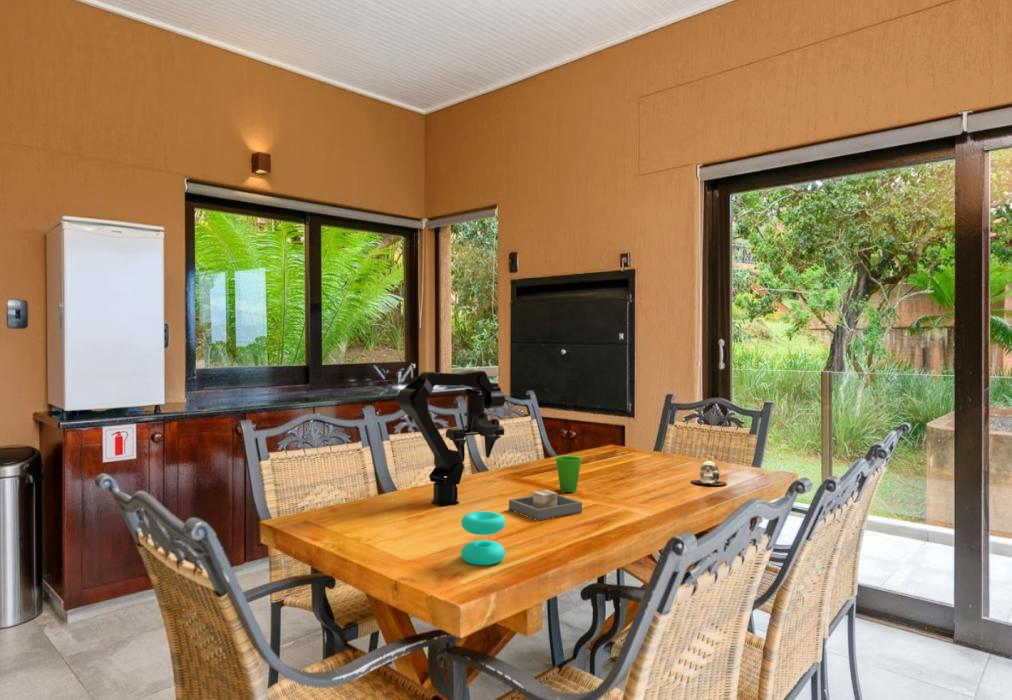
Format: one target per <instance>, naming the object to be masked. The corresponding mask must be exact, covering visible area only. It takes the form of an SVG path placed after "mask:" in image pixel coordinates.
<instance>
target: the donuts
mask: <svg viewBox="0 0 1012 700" xmlns="http://www.w3.org/2000/svg"><path fill="white" fill-rule="evenodd" d="M460 522H461V527H462V528H463V530H464V531H466V533H470V534H472V535H475V536H477V535H478V536H488V535H489V536H490V535H493V534H497V533H499V532H501V531H502V530H503V529H504V528H505V526H506V518H505V517H504V516H503V515H502V514H501V513H499V512H498V513H497V512H496V511H495V512H494V511H489V510H488V511H487V510H483V511H482V510H481V511H479V510H478V511H473V512H470V513H467V514H465V515H464V516H463V517H462V518H461V521H460ZM460 555H461V559H462V560H464V562H466V563H468V564H471V565H474V566H492V565H495V564H498V563H500V562H501V561H503V560H504V559H505V556H506V551H505V548H504V546H503V545H502V544H500V543H499V542H497V541H494V540H489V539H479V540H473V541H470V542H469V543H468V542H467V544H465V545H464V546H463V547H462V549H461V552H460Z"/></svg>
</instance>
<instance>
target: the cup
mask: <svg viewBox="0 0 1012 700" xmlns="http://www.w3.org/2000/svg"><path fill="white" fill-rule="evenodd" d="M554 459H555V462H556V469H557V476H558V481H559V489H560V491H563V492H562V493H565V492H573V493H576V492H575V491H577V488H578V481H579V478H580V477H579V476H580V469H581V465H582V464H581V463H582V460H583V457H582V456H576V455H557V456H555V457H554Z"/></svg>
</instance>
